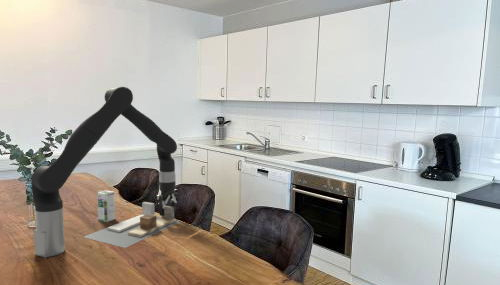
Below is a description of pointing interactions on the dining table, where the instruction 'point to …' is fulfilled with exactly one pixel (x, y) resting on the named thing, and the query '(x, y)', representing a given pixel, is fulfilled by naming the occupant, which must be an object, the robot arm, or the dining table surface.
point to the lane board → (123, 235)
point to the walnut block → (148, 222)
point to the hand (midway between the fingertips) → (168, 213)
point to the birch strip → (160, 223)
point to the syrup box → (106, 206)
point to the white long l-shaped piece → (146, 209)
